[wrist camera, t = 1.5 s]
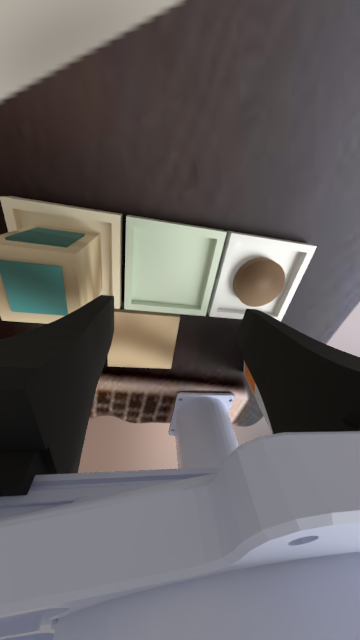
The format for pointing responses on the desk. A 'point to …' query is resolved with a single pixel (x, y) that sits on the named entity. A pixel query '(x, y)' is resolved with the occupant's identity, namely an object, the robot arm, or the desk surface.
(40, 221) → the tray sand
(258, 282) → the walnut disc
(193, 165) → the desk surface
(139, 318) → the cork pad
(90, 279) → the beige block teal panels
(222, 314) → the tray white
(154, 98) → the desk surface
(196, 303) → the tray sage
